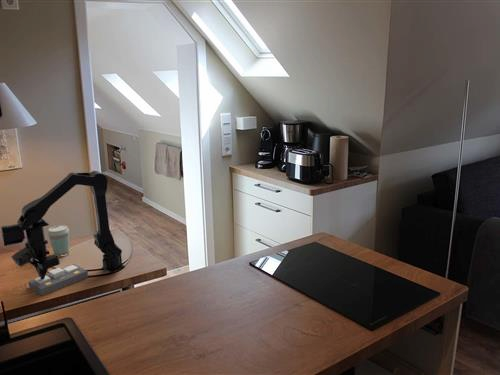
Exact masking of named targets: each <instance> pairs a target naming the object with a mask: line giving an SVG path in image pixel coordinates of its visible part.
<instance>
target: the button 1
mask: <svg viewBox="0 0 500 375" xmlns="http://www.w3.org/2000/svg"><path fill="white" fill-rule="evenodd" d="M38 277H39V278H38ZM38 277H35V278H36V279H35V278H34V279H35V282H36V283H37V284H39V285H40V284H43V283H46V282H48V281H51V278H49V277H48V276H46V275H45V278H44V279H41V278H40V276H38Z"/></svg>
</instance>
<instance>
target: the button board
mask: <svg viewBox="0 0 500 375" xmlns="http://www.w3.org/2000/svg"><path fill="white" fill-rule="evenodd" d="M71 265H74V266H76V267H78V270H77V271H74V272H71V273H69V274H68V273H66V272H65V275H64V276H61V277H59V278H56V279H54V278H52V277H50V276H49V273H46V276H48V277H49V278H51V281H48V282H46V283H43V284H40V285H39V284H37V283H36V282H35V279H36V278H39V277H40V276H38V277H35V278H32V279H31V280H28V287H29V289H31V290H33V291H34V292H36V293H37V294H39V295H40V296H44V295H47V294H49V293H52V292H54V291H57V290H59V289H62V288H65V287H66V286H70V285H72V284H74V283H76V282H79V281H81V280H84V279H86V278H88V277H89V272H88V270H86V269H85V268H83V267H81V266H79V265H77V264H75V263H72V264H71ZM71 265H67V266H64V267H62V268H61V269H63V268H66V267H68V266H71Z"/></svg>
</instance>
